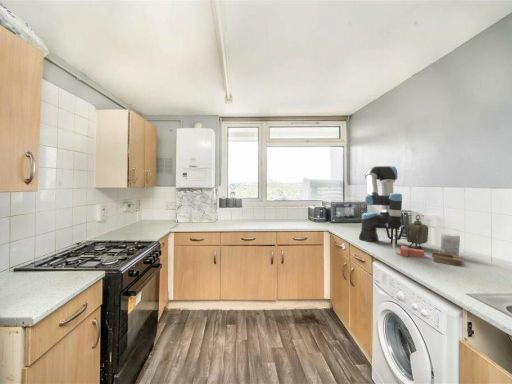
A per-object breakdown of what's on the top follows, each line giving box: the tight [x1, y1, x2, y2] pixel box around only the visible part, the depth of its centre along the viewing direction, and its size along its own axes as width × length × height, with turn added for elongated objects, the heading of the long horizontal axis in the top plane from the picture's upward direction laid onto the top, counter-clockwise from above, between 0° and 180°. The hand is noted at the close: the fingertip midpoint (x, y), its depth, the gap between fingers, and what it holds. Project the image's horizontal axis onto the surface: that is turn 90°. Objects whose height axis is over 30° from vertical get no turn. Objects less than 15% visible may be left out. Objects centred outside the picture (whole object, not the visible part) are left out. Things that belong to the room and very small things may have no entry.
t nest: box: [431, 251, 463, 267], centre depth 144 cm, size 14×13×3 cm
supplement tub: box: [440, 232, 461, 257], centre depth 154 cm, size 10×10×15 cm
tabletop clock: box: [406, 214, 429, 249], centre depth 172 cm, size 14×9×25 cm, turn 124°
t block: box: [399, 245, 425, 259], centre depth 154 cm, size 13×13×4 cm
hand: (393, 248), depth 160 cm, fingers closed
